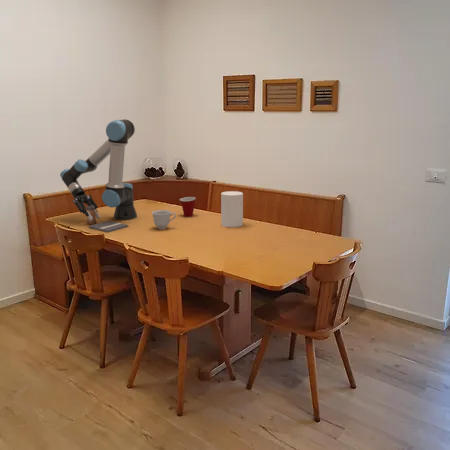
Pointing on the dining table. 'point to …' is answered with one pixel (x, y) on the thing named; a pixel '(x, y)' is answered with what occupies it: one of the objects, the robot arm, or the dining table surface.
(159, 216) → the teacup
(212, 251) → the dining table surface
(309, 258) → the dining table surface
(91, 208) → the spice shaker
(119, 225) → the board
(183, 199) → the plastic cup
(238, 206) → the canister
